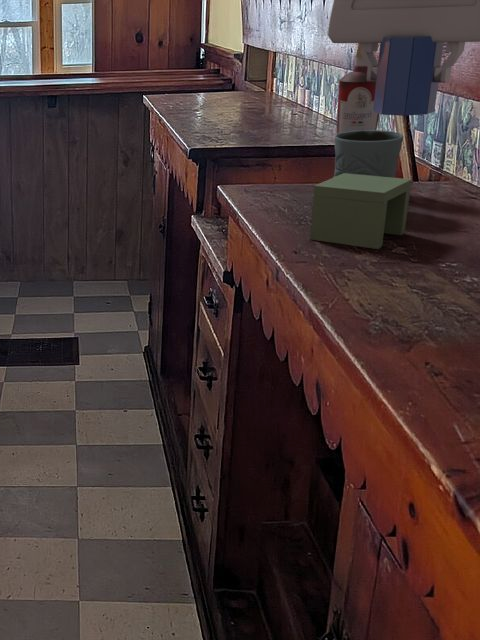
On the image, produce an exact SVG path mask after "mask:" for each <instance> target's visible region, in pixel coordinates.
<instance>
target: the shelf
mask: <svg viewBox="0 0 480 640" xmlns="http://www.w3.org/2000/svg"><path fill="white" fill-rule="evenodd" d="M333 177H334V176H333ZM333 177H332V178H328V179H327V180H325V181H322V182H320V183H317V184H315V185H314V187H313V197H312V198H313V199H312V210H311V222H310V233H309V240H311V241H319V242H324V243H325V242H326V243H333V244H338V245H346V246H352V247H353V246H354V247H360V248H367V249H373V250H380V249H381V248H382V247H383V243H384V235H385V234H386V235H394V236H395V235H396V236H403V235H404V234H405V233H406V225H407V219H408V218H407V217H408V210H409V204H410V203H409V201H410V196H411V195H410V194H411V186H412V179H411V178H399V177H395V178H391V177H380V176H369V175H358V174H347V173H343V174H341V175H338V176H336V177H334V178H333Z"/></svg>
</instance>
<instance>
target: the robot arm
mask: <svg viewBox="0 0 480 640" xmlns="http://www.w3.org/2000/svg"><path fill="white" fill-rule="evenodd" d="M327 36H328V39H329V40H330V41H331V43H332V44H359V43H361V48H360V54H361V56H362V58H363V60H364V62H365V64H366V66H367V67H368V69H367V81H376V79H377V70H378V61H377V59H376V56H375V54H374V52H378V50H379V44H380V43H381V42H382V40H383V37H392V38H403V37H429V36H431V38H432V41H433V42H444V43H446V46H445V47H446V48H445V52H446V53H449V54H448V56H447V58H446V59H445V61H444V62H443V63H442V64H441V66H438V67H434V76H433V82H438V84H442V83H443V84H444V83H445V84H446V83H448V82H450V79H451V74H452V73H451V72H452V67H453V66H454V65H455V64H456V62H457V61H458V60H459V59H460V58H461V56H462V54H463V53H464V51H465V46H466V43H480V0H333V2H332V6H331V11H330V17H329V22H328V29H327Z"/></svg>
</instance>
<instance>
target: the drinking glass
mask: <svg viewBox="0 0 480 640" xmlns="http://www.w3.org/2000/svg"><path fill="white" fill-rule="evenodd" d="M403 141H404V134H403V133H400V132H396V131H392V130H382V129H380V130H379V129H377V130H354V131H346V132H342V133H338V134H337V133H336V134H335V135H334V157H335V158H334V175H333V177H334V176H335V177H336V176H338V175H341V174H343V173H347V174H358V175H369V176H380V177H391V178H396V173H397V168H398V165H399V159H400V153H401V150H402V145H403Z"/></svg>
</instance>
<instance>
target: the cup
mask: <svg viewBox="0 0 480 640" xmlns="http://www.w3.org/2000/svg"><path fill="white" fill-rule="evenodd" d="M444 43H445V42H433V41H432V38H431V36H429V37H403V38H392V37H383V40H382V42H381V43H379V53H378V61H377V63H378V70H377V79H376V89H375V98H374V107H373V112H374V113H378V114H380V115H382V116H398V117H399V116H401V117H406V116H408V117H409V116H421V115H424V116H425V115H429V114H431V113H434V112H435V111H436V104H437V95H438V88H439V82H433V76H434V67H438V66H442V60H443V59H442V58H443V50H444Z"/></svg>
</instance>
